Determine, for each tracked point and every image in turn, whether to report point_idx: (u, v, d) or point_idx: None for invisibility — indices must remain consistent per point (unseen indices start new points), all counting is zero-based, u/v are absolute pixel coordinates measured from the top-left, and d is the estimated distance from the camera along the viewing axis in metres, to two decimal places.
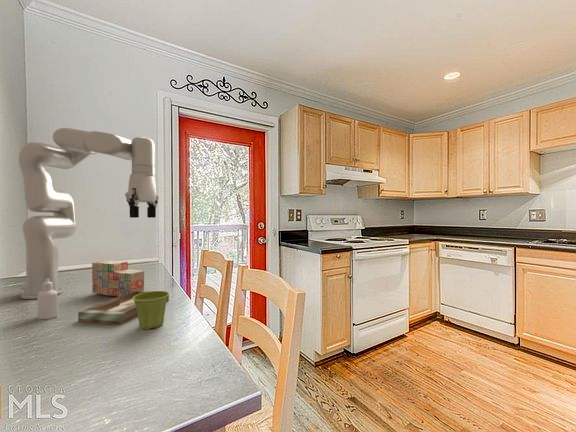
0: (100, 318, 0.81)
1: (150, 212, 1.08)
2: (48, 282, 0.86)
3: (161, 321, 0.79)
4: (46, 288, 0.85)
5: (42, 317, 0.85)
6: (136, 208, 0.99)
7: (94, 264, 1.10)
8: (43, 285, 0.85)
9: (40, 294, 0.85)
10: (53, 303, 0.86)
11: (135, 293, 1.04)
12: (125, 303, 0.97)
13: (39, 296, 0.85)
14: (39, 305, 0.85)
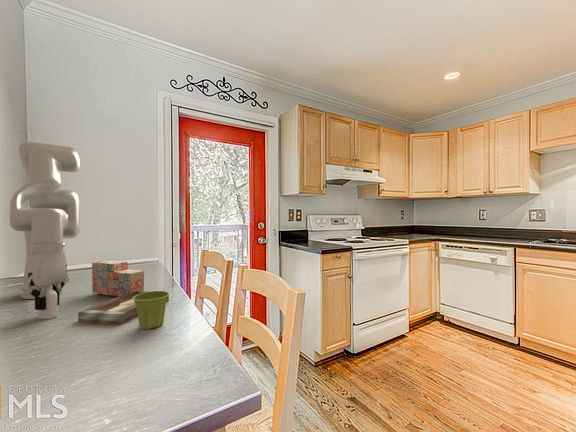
0: (100, 318, 0.81)
1: None
2: None
3: (161, 321, 0.79)
4: (46, 288, 0.85)
5: (42, 317, 0.85)
6: (42, 299, 0.84)
7: (94, 264, 1.11)
8: None
9: None
10: (53, 303, 0.86)
11: (135, 293, 1.04)
12: (125, 303, 0.97)
13: None
14: None
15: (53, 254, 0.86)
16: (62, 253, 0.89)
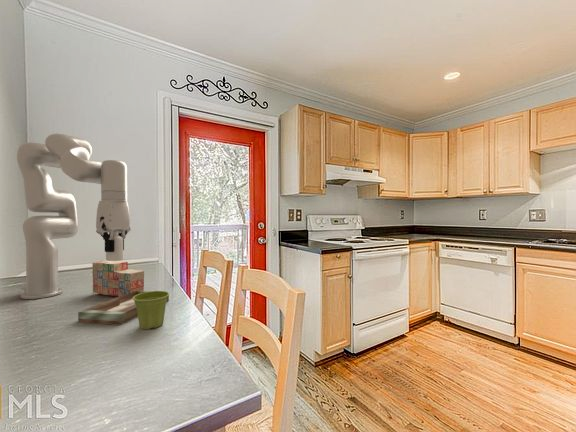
0: (100, 318, 0.81)
1: None
2: None
3: (161, 321, 0.79)
4: (114, 233, 0.94)
5: (111, 259, 0.93)
6: (111, 242, 0.92)
7: (94, 264, 1.11)
8: None
9: None
10: (120, 247, 0.94)
11: (135, 293, 1.04)
12: (125, 303, 0.97)
13: None
14: None
15: (120, 202, 0.94)
16: (126, 203, 0.98)
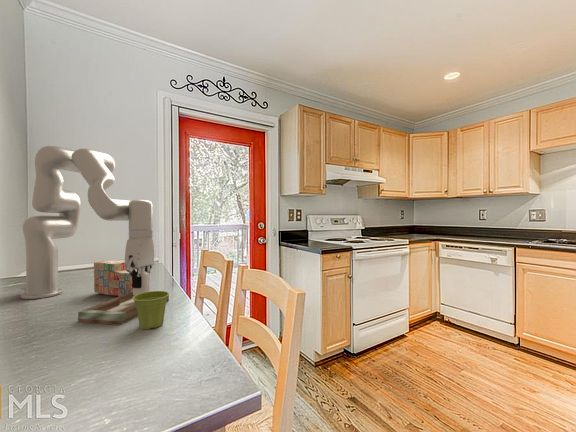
0: (100, 318, 0.81)
1: None
2: None
3: (161, 321, 0.79)
4: (141, 269, 0.98)
5: None
6: (139, 279, 0.97)
7: (96, 264, 1.11)
8: None
9: None
10: (147, 283, 0.98)
11: None
12: (125, 303, 0.97)
13: None
14: None
15: (146, 240, 0.98)
16: (151, 239, 1.02)
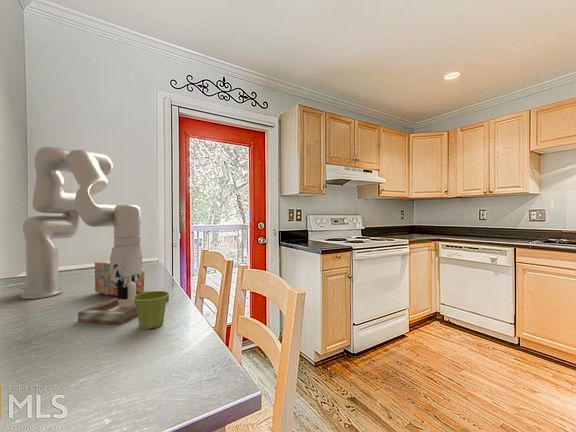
0: (100, 318, 0.81)
1: None
2: None
3: (161, 321, 0.79)
4: (127, 279, 0.92)
5: (124, 306, 0.91)
6: (124, 289, 0.90)
7: (96, 264, 1.12)
8: None
9: None
10: (134, 293, 0.92)
11: None
12: None
13: None
14: None
15: (133, 247, 0.92)
16: (139, 247, 0.95)
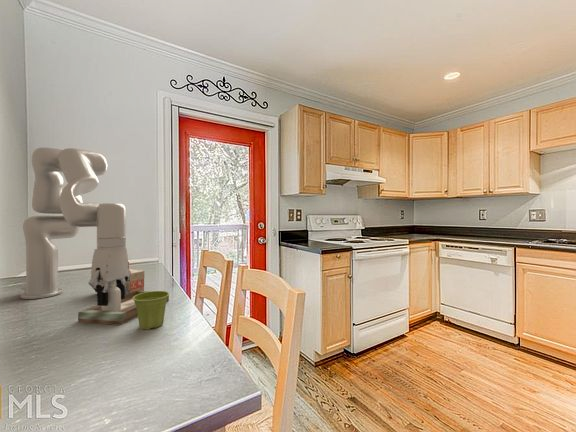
0: (100, 318, 0.81)
1: None
2: None
3: (161, 321, 0.79)
4: (111, 285, 0.85)
5: None
6: (105, 295, 0.82)
7: None
8: None
9: None
10: (118, 300, 0.85)
11: (135, 293, 1.04)
12: (125, 303, 0.97)
13: None
14: None
15: (118, 249, 0.85)
16: (124, 248, 0.88)
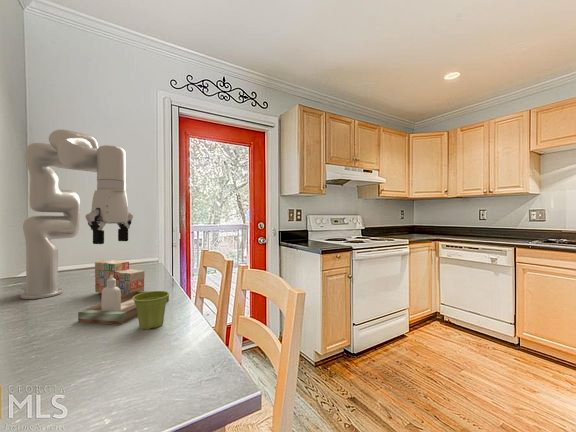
0: (100, 318, 0.81)
1: (121, 235, 0.90)
2: (112, 279, 0.86)
3: (161, 321, 0.79)
4: (111, 285, 0.85)
5: None
6: (100, 233, 0.81)
7: (97, 264, 1.12)
8: (108, 282, 0.85)
9: (105, 291, 0.85)
10: (118, 300, 0.85)
11: (135, 293, 1.04)
12: (125, 303, 0.97)
13: (104, 293, 0.85)
14: (104, 302, 0.85)
15: (118, 192, 0.85)
16: (124, 194, 0.89)
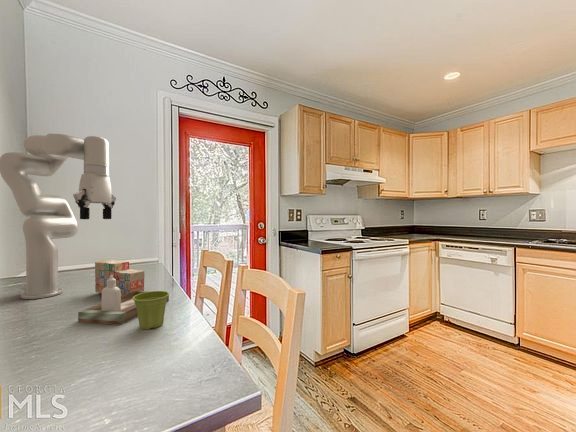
0: (100, 318, 0.81)
1: (105, 213, 1.05)
2: (112, 279, 0.86)
3: (161, 321, 0.79)
4: (111, 285, 0.85)
5: None
6: (86, 209, 0.96)
7: (97, 263, 1.12)
8: (108, 282, 0.85)
9: (105, 291, 0.85)
10: (118, 300, 0.85)
11: (135, 293, 1.04)
12: (125, 303, 0.97)
13: (104, 293, 0.85)
14: (104, 302, 0.85)
15: (101, 176, 1.00)
16: (108, 178, 1.03)
